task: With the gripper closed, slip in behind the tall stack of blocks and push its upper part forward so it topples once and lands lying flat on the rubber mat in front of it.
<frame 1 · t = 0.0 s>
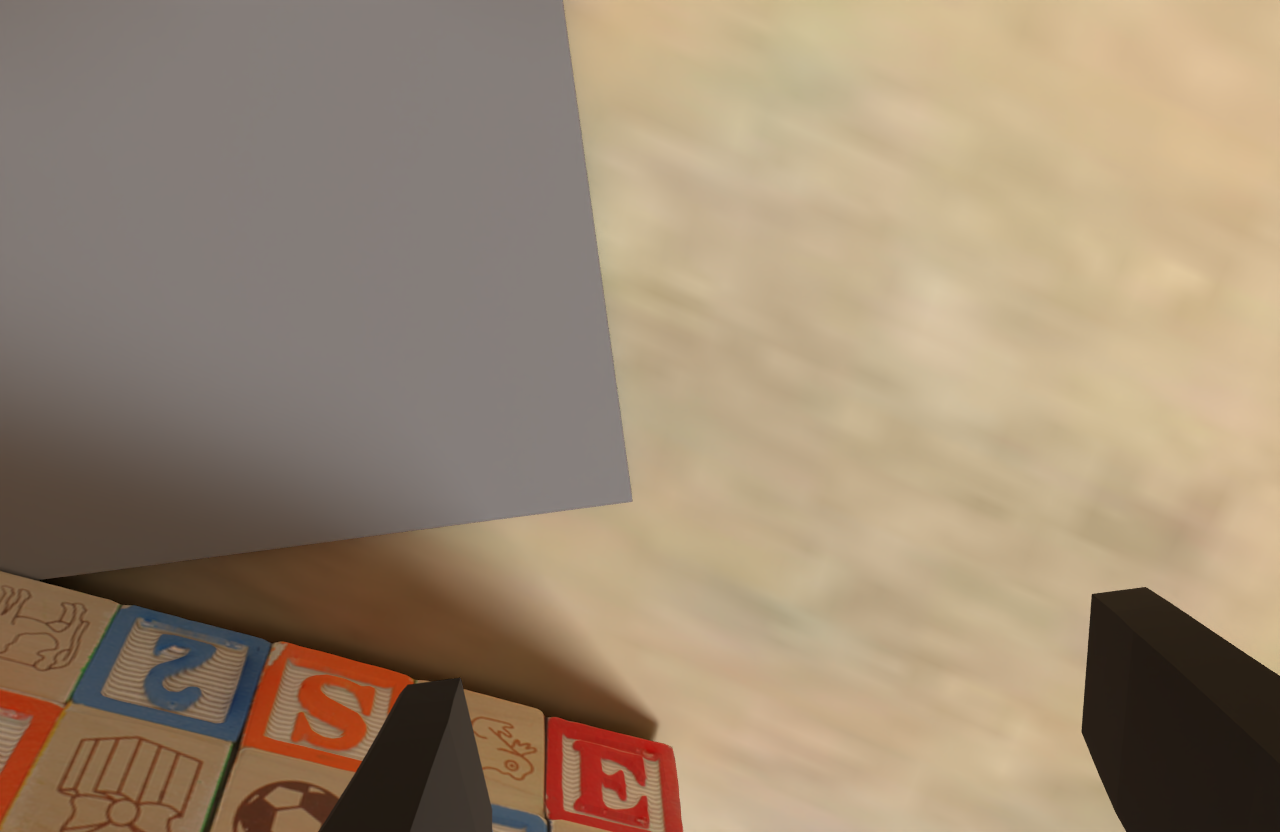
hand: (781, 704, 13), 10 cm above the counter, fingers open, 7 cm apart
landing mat: (7, 282, 21), on the counter
stack of blocks: (173, 714, 25), on the counter, touching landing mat
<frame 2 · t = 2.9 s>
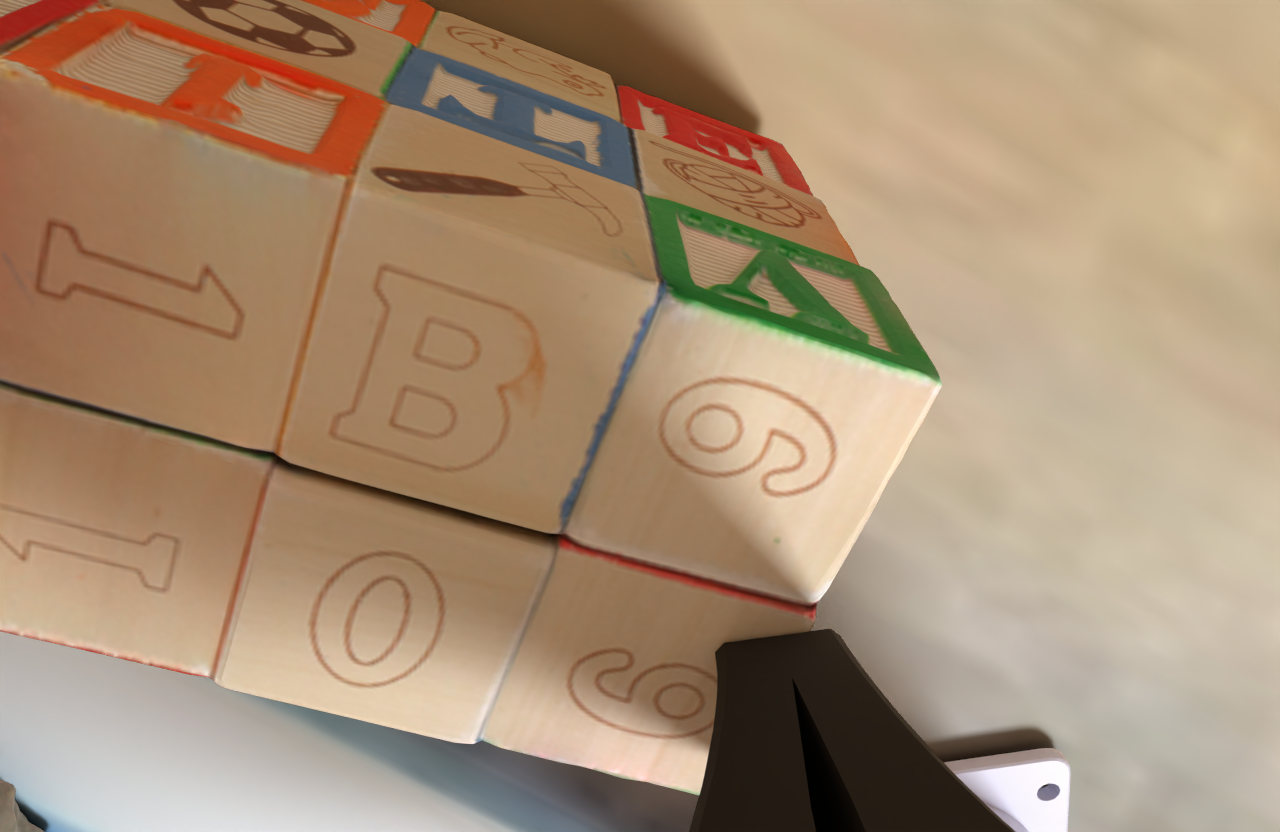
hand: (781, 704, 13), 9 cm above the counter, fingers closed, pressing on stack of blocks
stack of blocks: (110, 81, 19), on the counter, touching gripper, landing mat
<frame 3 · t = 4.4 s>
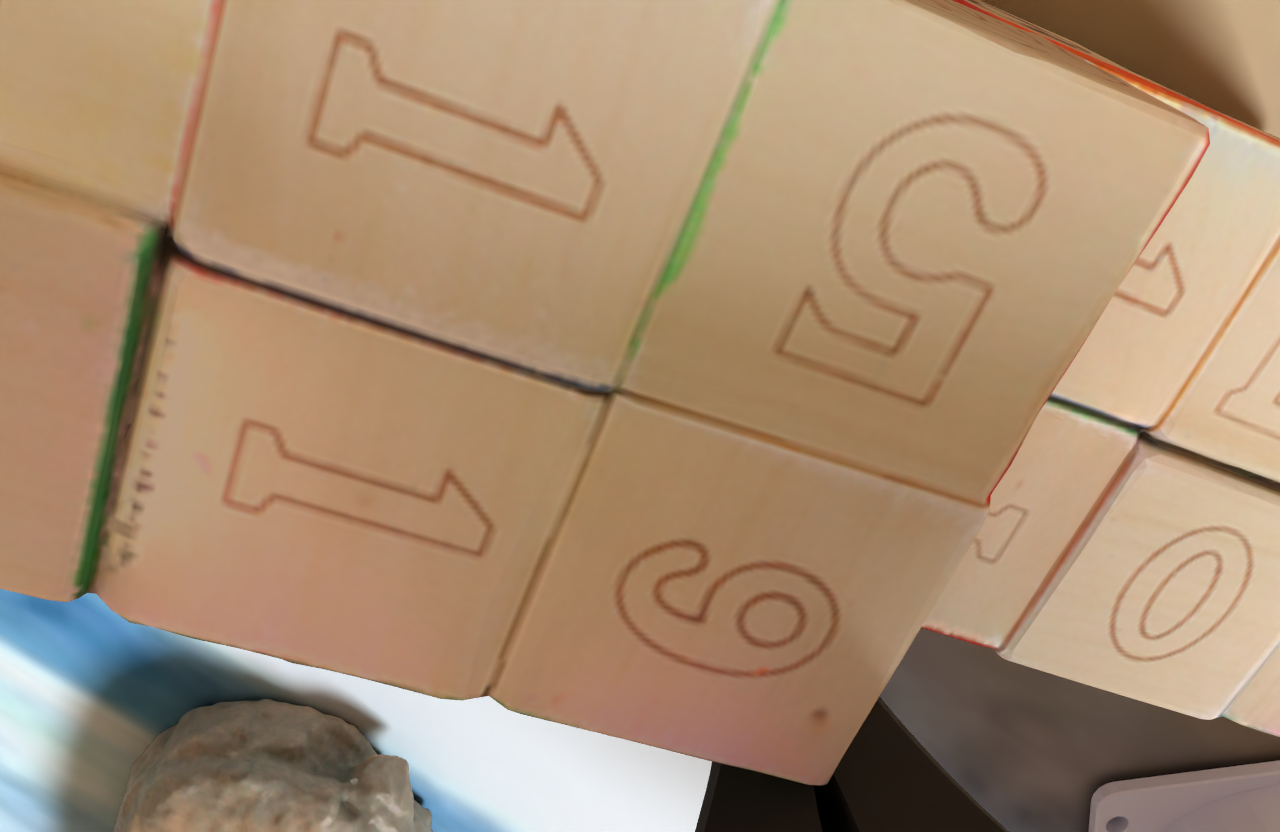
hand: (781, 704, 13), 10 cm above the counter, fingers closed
stack of blocks: (664, 78, 19), on the counter, touching gripper, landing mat
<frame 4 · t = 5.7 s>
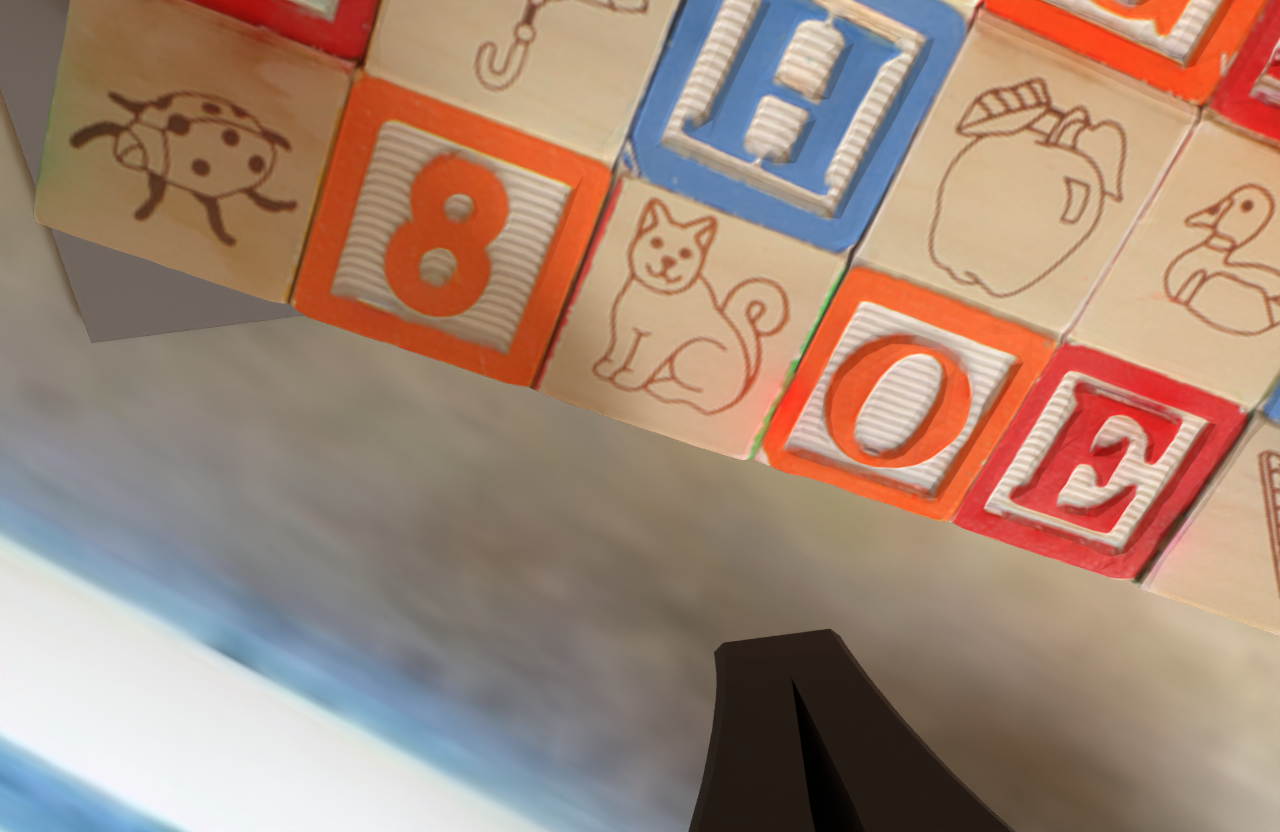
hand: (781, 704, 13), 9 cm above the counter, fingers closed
stack of blocks: (798, 411, 18), point 3 cm above the counter, touching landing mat
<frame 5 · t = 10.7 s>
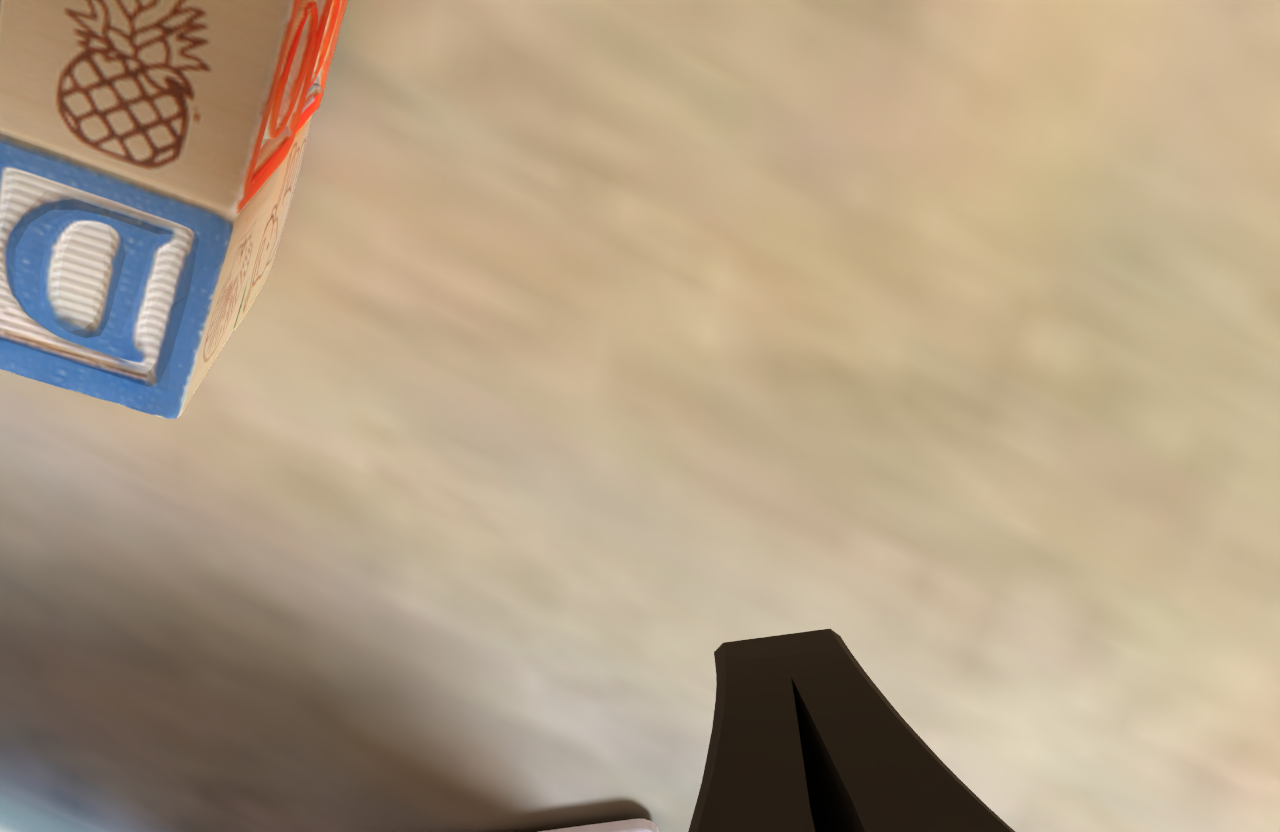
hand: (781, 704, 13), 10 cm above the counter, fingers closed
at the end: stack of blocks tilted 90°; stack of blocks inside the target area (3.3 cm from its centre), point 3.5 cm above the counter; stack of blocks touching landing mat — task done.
